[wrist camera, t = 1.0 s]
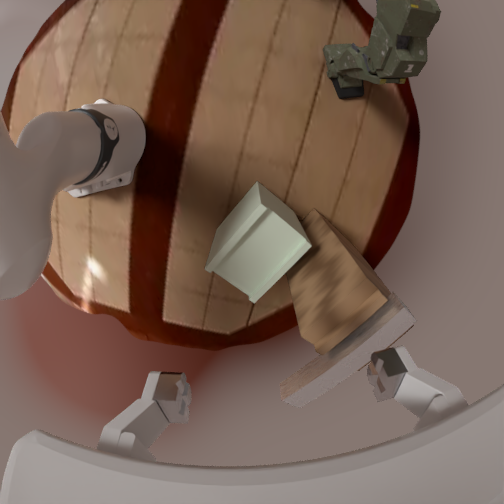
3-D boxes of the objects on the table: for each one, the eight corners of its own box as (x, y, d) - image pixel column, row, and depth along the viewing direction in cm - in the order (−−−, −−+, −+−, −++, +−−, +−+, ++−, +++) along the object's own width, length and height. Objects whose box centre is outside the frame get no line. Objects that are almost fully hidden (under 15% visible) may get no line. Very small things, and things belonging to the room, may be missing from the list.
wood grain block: (320, 278, 57) (360, 377, 32) (279, 245, 53) (302, 343, 29) (353, 245, 53) (417, 331, 29) (314, 208, 50) (370, 283, 25)
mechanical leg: (374, 113, 41) (473, 45, 12) (339, 118, 42) (422, 35, 13) (349, 52, 39) (409, -45, 9) (315, 55, 39) (355, -55, 10)
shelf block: (252, 256, 54) (254, 303, 40) (216, 229, 52) (204, 269, 37) (293, 211, 50) (311, 245, 36) (257, 181, 48) (261, 203, 33)
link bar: (297, 391, 34) (299, 408, 32) (279, 383, 34) (281, 400, 31) (406, 306, 28) (416, 321, 26) (392, 292, 27) (404, 307, 25)
